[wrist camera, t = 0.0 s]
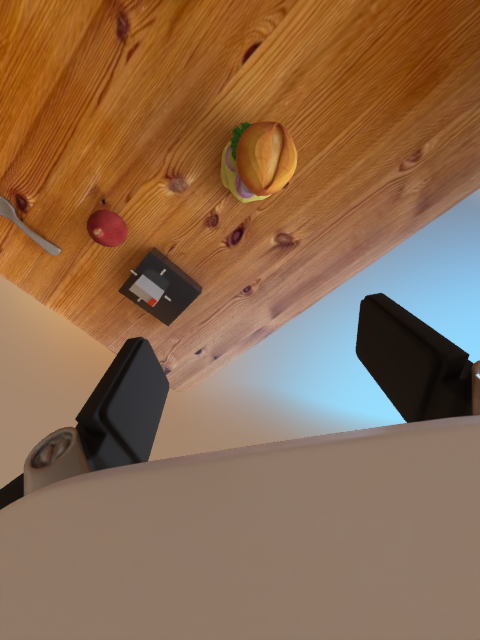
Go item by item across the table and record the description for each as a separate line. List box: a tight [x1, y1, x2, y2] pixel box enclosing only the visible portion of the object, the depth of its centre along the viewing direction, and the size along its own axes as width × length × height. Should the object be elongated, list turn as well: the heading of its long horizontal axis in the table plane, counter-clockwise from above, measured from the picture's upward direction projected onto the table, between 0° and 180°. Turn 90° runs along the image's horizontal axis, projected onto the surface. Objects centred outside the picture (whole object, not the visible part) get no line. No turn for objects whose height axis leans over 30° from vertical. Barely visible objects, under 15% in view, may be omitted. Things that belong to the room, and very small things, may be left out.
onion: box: [87, 210, 127, 247], centre depth 38 cm, size 6×6×8 cm
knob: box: [129, 275, 164, 307], centre depth 42 cm, size 5×2×5 cm, turn 45°
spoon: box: [0, 196, 61, 256], centre depth 40 cm, size 3×12×2 cm, turn 35°
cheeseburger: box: [220, 122, 297, 203], centre depth 34 cm, size 10×11×10 cm
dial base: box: [119, 247, 202, 326], centre depth 46 cm, size 13×11×3 cm
